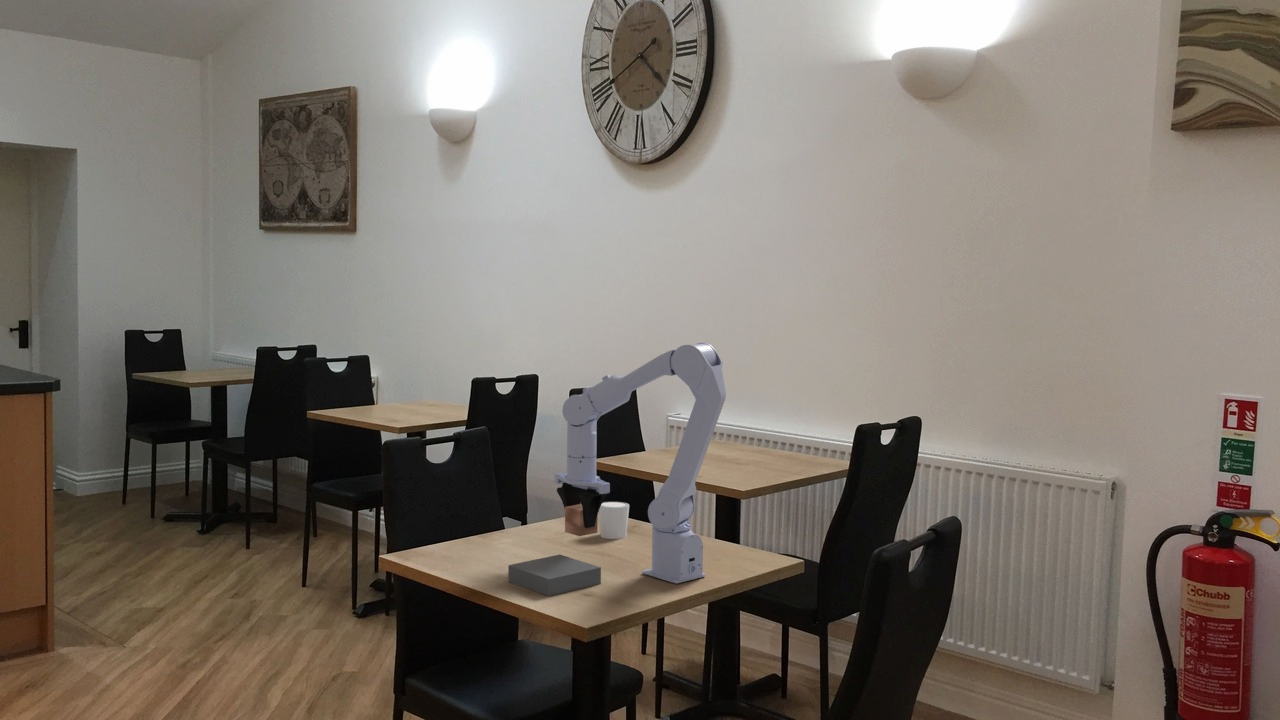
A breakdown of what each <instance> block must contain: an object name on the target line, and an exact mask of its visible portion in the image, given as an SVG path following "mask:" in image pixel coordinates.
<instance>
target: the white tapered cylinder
mask: <svg viewBox="0 0 1280 720" xmlns="http://www.w3.org/2000/svg"><path fill="white" fill-rule="evenodd" d="M629 513H630V504H629V503H627V502H622V501H603V502H602V504H601V506H600V509H599V512H598V519H599V521H598V522H599V532H600V537H601V538H603V539H607V540H619V539H625V538H627V532H628V522H629Z"/></svg>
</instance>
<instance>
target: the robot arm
mask: <svg viewBox="0 0 1280 720" xmlns="http://www.w3.org/2000/svg"><path fill="white" fill-rule="evenodd" d="M664 376H671V377H672V376H677V377H678V378H679V379H681V380H682V382H684V384H685V385H687V386H688V388H689V389H690V391H691V393H692V395H693V396H694V399H695V401H694V404H693V406H692V409H691V412H690V415H689V419H688V421H687V423H686V427H685V429H684V432H683V435H682V438H681V441H680V444H679V446H678V449H677V452H676V455H675V458H674V460H673V463H672V466H671V468H670V472H669V475H668V477H667V478H666V480H665V481H664V482H663V484H662V486H661V488H660V490H659V492H658V494H657V496H656V497H655V498H654V499H653V500H652V501H651V502H650V504H649V505H648V509H647V517H648V520H649V522H650V523H651V525H652V531H651V534H652V535H651V536H652V537H651V540H652V541H651V568H647V569H644V570H643V569H642V570H641V574H644V575H648V576H650V577H653V578H657V579H660V580H663V581H667V582H669V583H673V584H680V583H683V582H688V581H692V580H696V579H700V578H704V577H706V573H704V572H703V569H704V568H703V563H704V562H703V561H704V559H703V558H704V557H703V554H704V545H703V540H702V538H701V536H700V535H698V534H697V533H694V532H693V531H692V529H691V521H690V518H691V517H692V516H693V515H694V512H695V511H696V510H695V508H696V502H695V497H696V496H695V495H696V492H697V486H696V482H697V478H698V476H699V473H700V470H701V469H702V465H703V462H704V459H705V457H706V455H707V454H706V453H707V452H708V448H709V447H710V446H709V445H710V443H711V440H712V438H713V436H714V435H713V434H714V431H715V430H716V426H717V424H718V421H719V418H720V415H721V413H722V409H723V407H724V403H725V401H726V397H727V393H726V386H725V385H726V384H725V380H724V373H723V360H722V358H721V357H720V355H719V353H718V352H717V350H716V349H715V347H713V346H712V345H711V344H709V343H707V342H698V343H695V344H683V345H680V346H679V347H677V348H676V349H672V350H669V351H666V352H664V353H662V354H659V355H658V356H656V357H654V358H653V359H651V360H650V361H647V362H646V363H645V364H643V365H641V366H640V367H638V368H637V369H634V370H633V371H631V372H629V373H628V374H626V375H625V376H621V375H618V374H612V375H611V374H607V375H605V376H603V377H601V380H602V381H600V382H599V383H596V384H595V385H593V386H592V387H589V386H588V387H587V386H586V387H585V388H583V389H582V393H581V394H572V395H570V396H569V397H568V398H567V399H566V400H565V401H564V403H563V405H562V410H561V411H562V416H563V418H564V419H565V421H566V422H567V423H566V425H567V432H566V433H567V434H566V435H567V436H566V440H567V441H566V443H567V444H566V452H567V453H566V457H567V458H566V464H567V465H566V472H559V473H554V484H557V485H559V484H562V485H561V487H556V493H557V494H558V495H559V496H558V497H560V500H561V501H562V502H561V503H562V505H563V508H564V509H565V507H567V506H573V505H579V504H582V508H583V521H584V527H585V528H590V527H595V523H596V519H597V515H598V516H599V509H600V506H601V504H602V503H603V502H604V500H605V498H606V497H607V494H610V492H611V484H610V482H607V481H605V480H602V479H601V477H600V476H598V475H597V447H598V446H597V441H598V440H597V437H598V436H597V435H598V433H597V429H598V427H597V422H598V420H599V419H600V418H601V416H604V415H605V414H607V413H609V412H611V411H613V410H614V409H616V408H618V407H620V406H622V405H624V404H625V403H628V402H629V401H630V398H631V395H632V392H634V391H635V390H637V389H640V388H642V387H643V386H645V385H648V384H649V383H651V382H653V381H656V380H658V379H660V378H661V377H664ZM584 490H585V491H584Z"/></svg>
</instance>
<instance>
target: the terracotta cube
mask: <svg viewBox="0 0 1280 720" xmlns="http://www.w3.org/2000/svg"><path fill="white" fill-rule="evenodd" d="M598 519H599V514H598V515H597V519H596V523H595V527H590V528H585V527H584V521H583V508H582V503H580V504H579V505H573V506H567V507H565V508H564V533H567V534H570V535H573V536H574V535H575V536H577V537H584V536H589V535H594V534H598Z"/></svg>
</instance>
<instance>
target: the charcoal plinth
mask: <svg viewBox="0 0 1280 720" xmlns="http://www.w3.org/2000/svg"><path fill="white" fill-rule="evenodd" d="M507 567H508V568H507V570H508V577H507V578H508V579H507V581H508V583H509V582H510V583H512V584H515V585H517V586H519V587H522V588H526V589H529V590H530V591H534V592H537V593H539V594H542V595H545V596H548V597H551V596H555V595H558V594H563V593H567V592H572V591H576V590H579V589H584V588H588V587H592V586H597V585H601V584H602V577H601V576H602V567H601V566H597V565H594V564H592V563H589V562H585V561H582V560H578V559H575V558H572V557H569V556H566V555H563V554H557V555H556V554H555V555H551V556H547V557H540V558H537V559H531V560H527V561H526V560H525V561H522V562H518V563H512V564H508V566H507Z"/></svg>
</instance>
